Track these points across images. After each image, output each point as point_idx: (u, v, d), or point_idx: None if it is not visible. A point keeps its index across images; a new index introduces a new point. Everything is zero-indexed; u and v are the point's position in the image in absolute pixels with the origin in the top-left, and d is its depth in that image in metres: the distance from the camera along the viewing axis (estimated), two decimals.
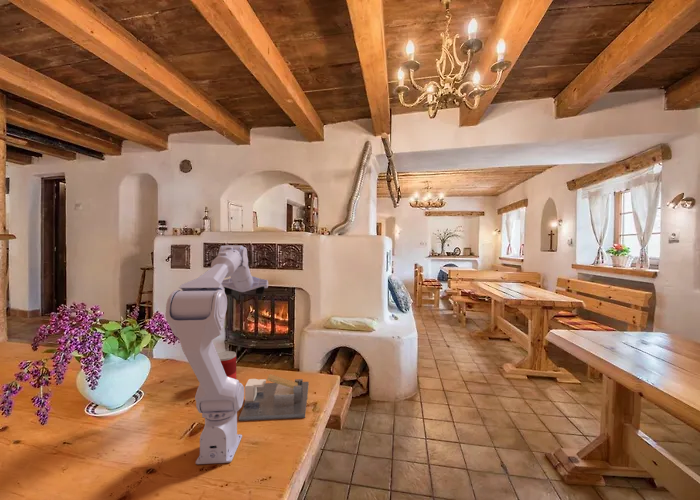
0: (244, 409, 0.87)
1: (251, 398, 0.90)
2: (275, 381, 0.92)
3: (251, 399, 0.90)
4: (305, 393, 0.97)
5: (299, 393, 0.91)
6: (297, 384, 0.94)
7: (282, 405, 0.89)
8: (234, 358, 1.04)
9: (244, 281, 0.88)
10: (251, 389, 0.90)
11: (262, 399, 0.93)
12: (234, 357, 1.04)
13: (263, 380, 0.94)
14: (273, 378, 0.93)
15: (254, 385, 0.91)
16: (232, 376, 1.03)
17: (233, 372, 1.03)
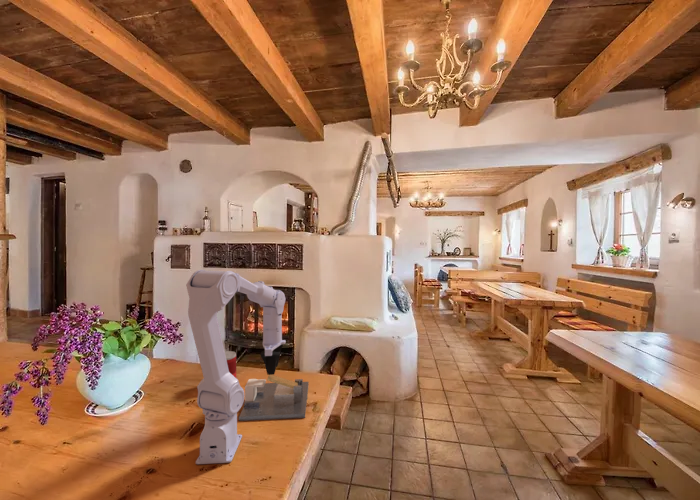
0: (244, 409, 0.87)
1: (251, 398, 0.90)
2: (275, 381, 0.92)
3: (251, 399, 0.90)
4: (305, 393, 0.97)
5: (299, 393, 0.91)
6: (297, 384, 0.94)
7: (282, 405, 0.89)
8: (234, 358, 1.04)
9: (263, 329, 0.91)
10: (251, 389, 0.90)
11: (262, 399, 0.93)
12: (234, 357, 1.04)
13: (263, 380, 0.94)
14: (273, 378, 0.93)
15: (254, 385, 0.91)
16: None
17: (233, 372, 1.03)
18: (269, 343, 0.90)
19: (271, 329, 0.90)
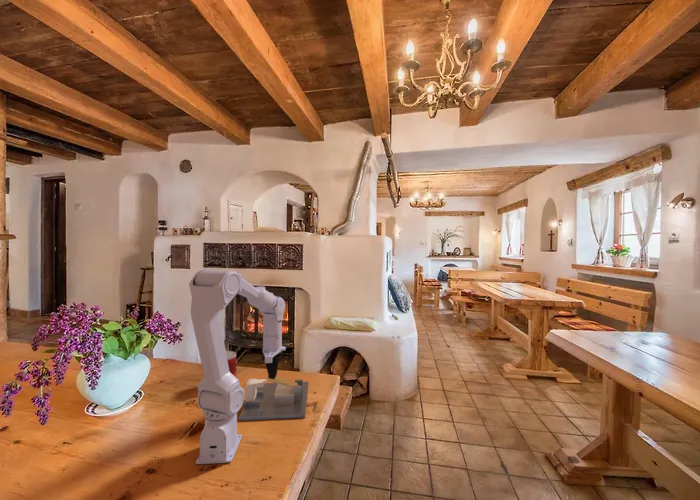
0: (244, 409, 0.87)
1: (251, 398, 0.90)
2: (275, 381, 0.92)
3: (251, 399, 0.90)
4: (305, 393, 0.97)
5: (299, 393, 0.91)
6: (297, 384, 0.94)
7: (282, 405, 0.89)
8: (234, 358, 1.04)
9: (263, 336, 0.91)
10: (251, 389, 0.90)
11: (262, 399, 0.93)
12: (234, 357, 1.04)
13: (263, 380, 0.94)
14: (273, 378, 0.93)
15: (254, 385, 0.91)
16: None
17: (233, 372, 1.03)
18: (269, 350, 0.90)
19: (271, 336, 0.90)
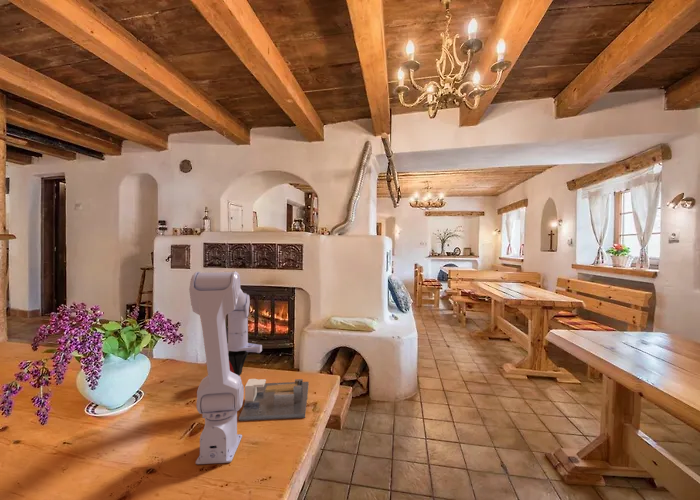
0: (244, 409, 0.87)
1: (251, 398, 0.90)
2: (274, 390, 0.92)
3: (251, 399, 0.90)
4: (305, 393, 0.97)
5: (299, 393, 0.91)
6: (296, 384, 0.94)
7: (282, 405, 0.89)
8: None
9: (239, 334, 0.90)
10: (251, 389, 0.90)
11: (262, 399, 0.93)
12: None
13: (263, 380, 0.94)
14: (271, 388, 0.93)
15: (254, 385, 0.91)
16: None
17: (233, 372, 1.03)
18: (246, 345, 0.92)
19: (240, 333, 0.90)
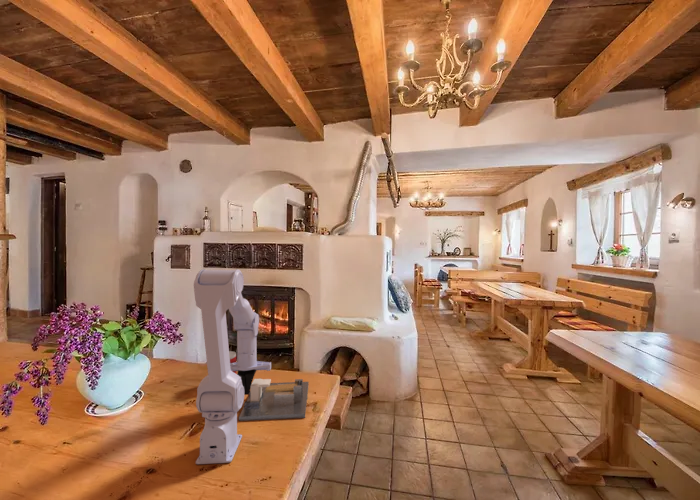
0: (244, 409, 0.87)
1: (256, 398, 0.91)
2: (274, 390, 0.92)
3: (256, 399, 0.91)
4: (305, 393, 0.97)
5: (299, 393, 0.91)
6: (296, 384, 0.94)
7: (282, 405, 0.89)
8: (234, 358, 1.04)
9: (250, 353, 0.90)
10: (256, 389, 0.91)
11: (262, 399, 0.93)
12: (234, 357, 1.04)
13: (268, 380, 0.94)
14: (271, 388, 0.93)
15: (259, 384, 0.91)
16: None
17: None
18: (255, 363, 0.92)
19: (248, 352, 0.90)
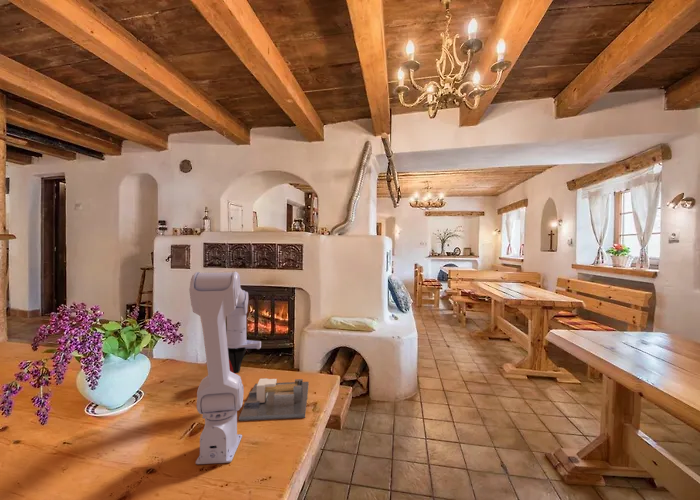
0: (244, 409, 0.87)
1: (263, 398, 0.91)
2: (274, 390, 0.92)
3: (263, 399, 0.91)
4: (305, 393, 0.97)
5: (299, 393, 0.91)
6: (296, 384, 0.94)
7: (282, 405, 0.89)
8: None
9: (239, 331, 0.90)
10: (263, 389, 0.91)
11: None
12: None
13: (274, 380, 0.94)
14: (271, 388, 0.93)
15: (265, 384, 0.91)
16: None
17: (233, 372, 1.03)
18: (245, 341, 0.92)
19: (239, 330, 0.90)
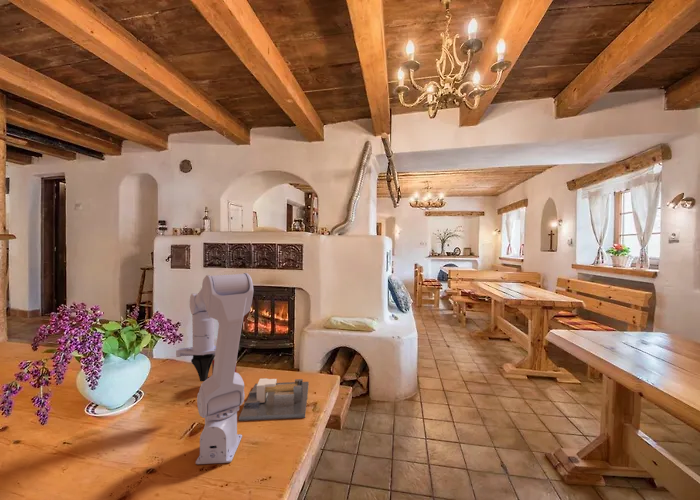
0: (244, 409, 0.87)
1: (263, 398, 0.91)
2: (274, 390, 0.92)
3: (263, 399, 0.91)
4: (305, 393, 0.97)
5: (299, 393, 0.91)
6: (296, 384, 0.94)
7: (282, 405, 0.89)
8: None
9: (205, 337, 0.84)
10: (263, 389, 0.91)
11: None
12: None
13: (274, 380, 0.94)
14: (271, 388, 0.93)
15: (265, 384, 0.91)
16: None
17: None
18: (212, 347, 0.86)
19: (210, 334, 0.85)
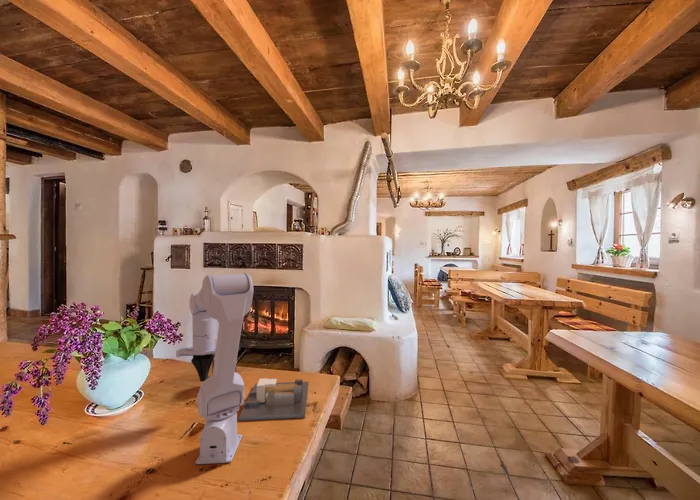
0: (244, 409, 0.87)
1: (263, 398, 0.91)
2: (274, 390, 0.92)
3: (263, 399, 0.91)
4: (305, 393, 0.97)
5: (299, 393, 0.91)
6: (296, 384, 0.94)
7: (282, 405, 0.89)
8: None
9: (205, 337, 0.84)
10: (263, 389, 0.91)
11: None
12: None
13: (274, 380, 0.94)
14: (271, 388, 0.93)
15: (265, 384, 0.91)
16: None
17: None
18: (212, 347, 0.86)
19: (210, 334, 0.85)
